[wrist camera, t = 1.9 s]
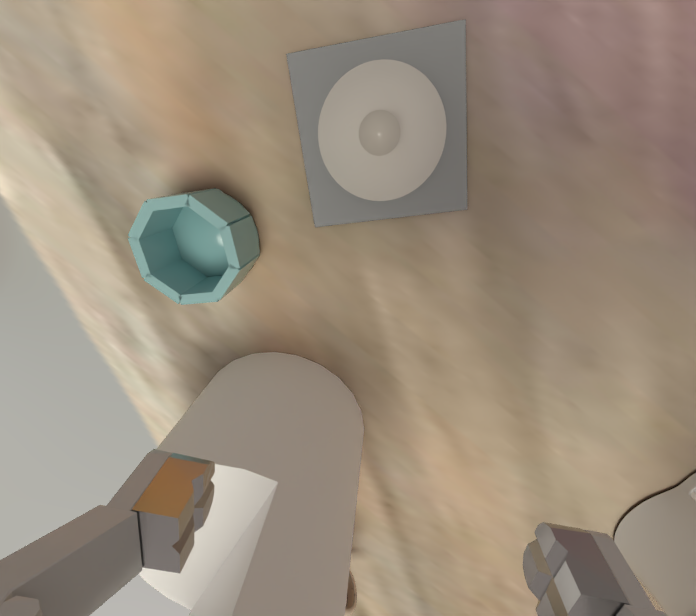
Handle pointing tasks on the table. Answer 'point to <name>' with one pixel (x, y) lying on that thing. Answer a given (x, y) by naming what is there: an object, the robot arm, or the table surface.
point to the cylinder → (270, 491)
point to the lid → (382, 130)
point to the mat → (450, 82)
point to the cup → (194, 245)
